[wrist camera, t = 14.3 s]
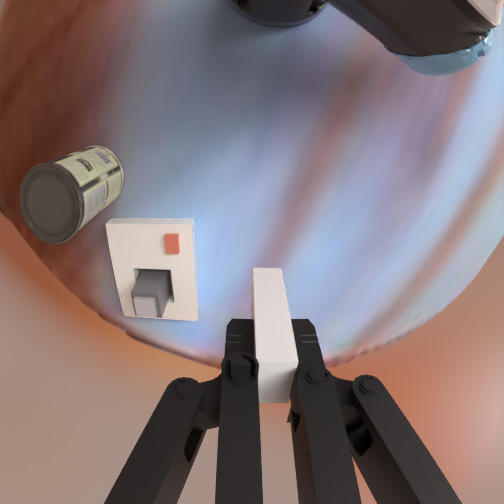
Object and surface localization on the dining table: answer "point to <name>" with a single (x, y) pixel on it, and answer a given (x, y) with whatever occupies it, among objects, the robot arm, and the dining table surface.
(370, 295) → the dining table surface
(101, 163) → the coffee can
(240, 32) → the dining table surface
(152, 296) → the plug
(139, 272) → the socket plate
